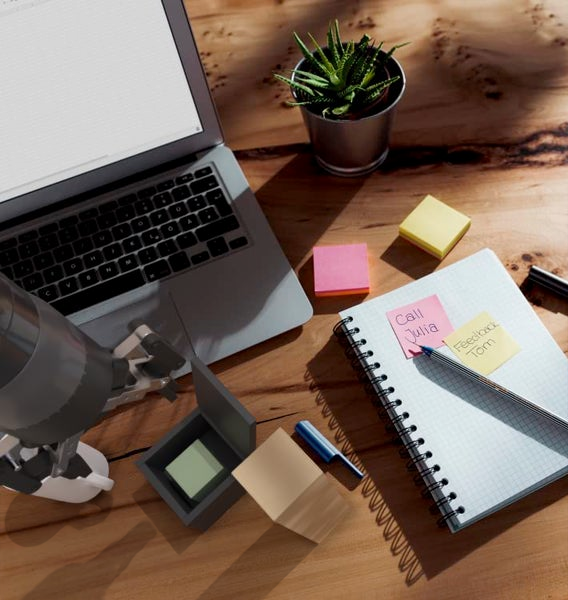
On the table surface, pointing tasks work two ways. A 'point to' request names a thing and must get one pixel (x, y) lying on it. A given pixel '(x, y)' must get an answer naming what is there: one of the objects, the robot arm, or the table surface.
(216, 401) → the open box flap
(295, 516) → the stand
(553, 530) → the table surface
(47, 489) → the mug
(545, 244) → the table surface
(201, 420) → the grey lidded box
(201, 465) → the block
